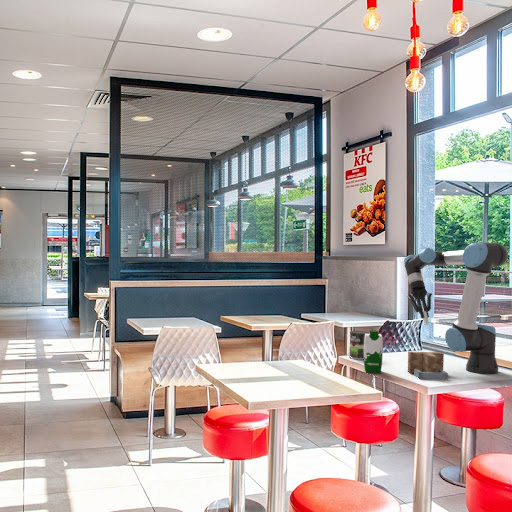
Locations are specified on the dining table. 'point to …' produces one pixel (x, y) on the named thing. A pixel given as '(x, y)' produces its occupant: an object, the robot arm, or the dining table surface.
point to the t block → (425, 361)
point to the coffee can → (357, 344)
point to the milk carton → (373, 352)
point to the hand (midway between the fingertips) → (426, 323)
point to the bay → (431, 374)
